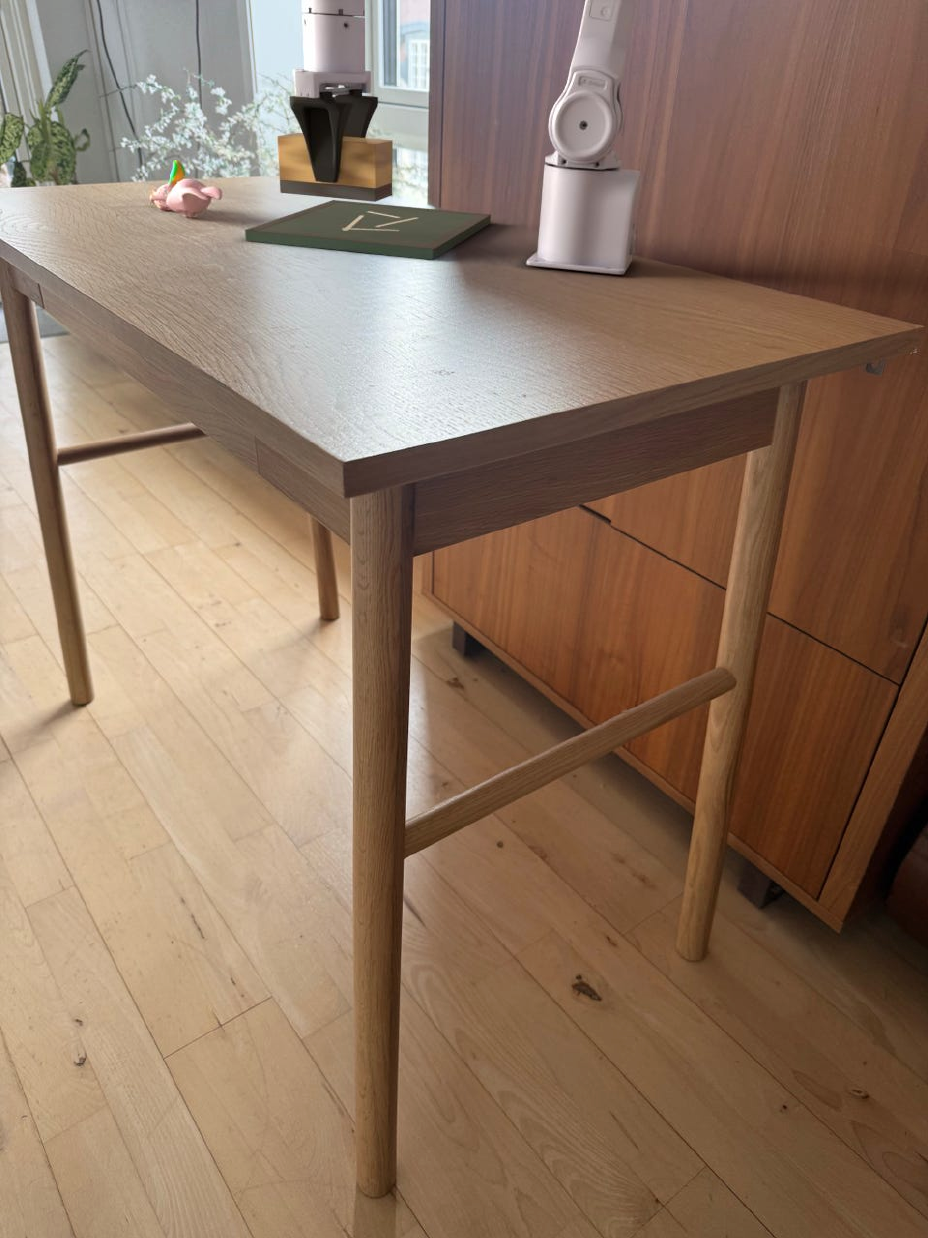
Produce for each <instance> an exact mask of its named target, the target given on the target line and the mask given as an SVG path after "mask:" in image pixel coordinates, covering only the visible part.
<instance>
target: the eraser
mask: <svg viewBox="0 0 928 1238" xmlns="http://www.w3.org/2000/svg"><path fill="white" fill-rule="evenodd" d="M393 147H394V146H393V139H381V138H368V137H365V138H358V137H345V136H343V141H342V151H341V164H340V172H339V177H338V181H337V183H328V182H317V181H316V180H315V177H314V174H313V170H312V166H311V162H310V157H309V153H308V149H307V145H306V142H305V139H304V136H303V133H302V132H294V133H290V134H289V133H288V134H282V135H278V136H277V153H278V154H277V155H278V157H277V158H278V174H279V176H278V177H279V193H281V194H288V195H289V194H290V195H300V196H311V197H320V198H331V199H341V200H342V199H343V200H350V201H351V200H353V201H362V202H364V201H365V202H373V203H376V202H379V201H381V200H385V199H387V198H389V197H392V196H393V150H394V149H393Z"/></svg>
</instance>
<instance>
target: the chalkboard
mask: <svg viewBox="0 0 928 1238" xmlns="http://www.w3.org/2000/svg"><path fill="white" fill-rule="evenodd" d="M491 221H492V214H491V213H481V212H480V213H479V212H469V211H468V212H467V211H458V210H448V209H447V210H446V209H435V208H427V207H425V208H424V207H413V206H403V205H391V204H381V203H371V202H358V201H351V200H350V201H349V200H348V201H347V200H339V199H337V200H336V199H331V200H329V201H326V202H323V203H320V204H317V205H314V206H311V207H309V208H306V209H303V210H299V211H296V212H294V213H291V214H287V215H284V216H282V217H280V218H276V219H273V220H270V221H267V222H264V223H261V224H258V225H255V226H252V227H250V228H247V229H245V230H244V235H245V236H244V237H245V241H246V242H254V243H266V244H274V245H284V246H292V247H293V246H294V247H302V248H303V247H304V248H312V249H313V248H314V249H322V250H323V249H324V250H333V251H341V252H342V251H344V252H353V253H360V254H361V253H362V254H372V255H381V256H391V257H401V258H411V259H420V260H421V259H422V260H430V261H433V260H435V259H436V258H439V257H440V256H442V255H443V254H445V253H446V252H448V251H450V250H451V249H452V248H454V247H456V246H457V245H459V244H460V243H462V242H464V241H465V240H467V239H468V238H470V237H471V236H473V235H474V234H477V233H478V232H479V231H482V230H483V229H484V228H486V227H487V226H489V225H490V224H491Z"/></svg>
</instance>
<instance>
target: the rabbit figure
mask: <svg viewBox="0 0 928 1238" xmlns="http://www.w3.org/2000/svg"><path fill="white" fill-rule="evenodd" d="M185 176H186V171H185V169H184V165H183V164H182V163H181V162H180V161H179V160H177V159H174V160H173V161H172V167H171V172H170V174H169V182H168V183H166V184H163V185H161V186H160V187H158V189H157V190H156V189H150V196H149V205H151V204H153V205H152V206H153V207H152V208H154V207H155V206H156V207H157V208H158V209H159V210H161V211H167V210H169V211H174V212H175V213H180V214H182V215H183V217H185V218H195V217H196V216H197V214H199V213H200V212H204V211H205V210H207V209H208V207H209V206H210V205H211V203H212V199H215V200H217V201H220V200H222V199H223V190H222V188H220V187H217V186H213V185H212V186H206V184H204V183H203V182H201V181H200V180H197V179H195V178H185Z"/></svg>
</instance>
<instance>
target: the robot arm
mask: <svg viewBox="0 0 928 1238" xmlns="http://www.w3.org/2000/svg"><path fill="white" fill-rule="evenodd" d="M639 1H640V0H585V1H584V7H583V10H582V11H583V12H582V16H581V21H580V26H579V30H578V31H579V32H578V36H577V42H576V46H575V49H574V53H573V56H572V59H571V63H570V67H569V72H568V77H567V80H566V81H567V82H566V85H565V87H564V89H563V91H562V92H561V94H560V95H559V97H558V98H557V100H556V101H555V103H554V104H553V106H552V108H551V111H550V114H549V119H548V136H549V139H550V142H551V144H552V147H553V148H554V152H553V153H551V154H549V155H546V156H545V157H544V161H545V163H544V168H543V178H542V193H541V204H540V205H541V206H540V215H539V229H538V238H537V239H538V240H537V251H536V252H535V253H533V254H532V255H531V256H530V257H529V258H528V259H527V260H526V265H527V266H529V267H540V268H548V269H549V268H550V269H561V270H568V271H569V270H570V271H578V272H579V271H580V272H588V273H589V272H590V273H598V274H609V275H620V276H621V275H624V274H625V273H626V271H627V270H628V268H629V267H630V265H631V263H632V261H633V258H634V257H633V255H634V254H635V251H636V243H637V234H636V232H637V231H636V230H637V222H638V217H639V216H638V215H639V210H640V209H639V208H640V201H641V192H642V181H643V174H642V171H641V170H635V169H625V168H622V164H623V163H622V162H623V161H622V160H623V159H622V158H621V157H619V156H618V154H616V152H615V149H613V147H614V145H615V143H616V142H617V139H618V138H619V135H620V133H621V130H622V127H623V124H624V123H623V122H624V110H623V105H622V101H621V86H622V82H623V76H624V71H625V68H626V67H625V66H626V61H627V56H628V50H629V46H630V41H631V37H632V32H633V28H634V23H635V18H636V14H637V10H638V5H639ZM301 13H302V14H301V16H302V17H301V19H302V20H301V21H302V47H303V68H292V77H293V82H294V96H293V95H291V96H289V108H290V110H291V112H292V113H293V116H294V117H295V119H296V122H297V123H298V125H299V128H300V130H301V133H303V136H304V139H305V142H306V145H307V149H308V153H309V157H310V162H311V166H312V170H313V174H314V177H315V180H316V181H317V182H328V183H337V181H338V177H339V172H340V164H341V151H342V141H343V136H345V137H358V138H367V135H368V134H367V133H368V131H369V127H370V124H371V121H372V119H373V117H374V114H375V113H376V111H377V109H378V107H379V106H378V105H379V97H378V96H374V95H373V96H372V95H363V94H371V93H372V73H371V70H366V1H365V0H301ZM340 86H342V87H340Z"/></svg>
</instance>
